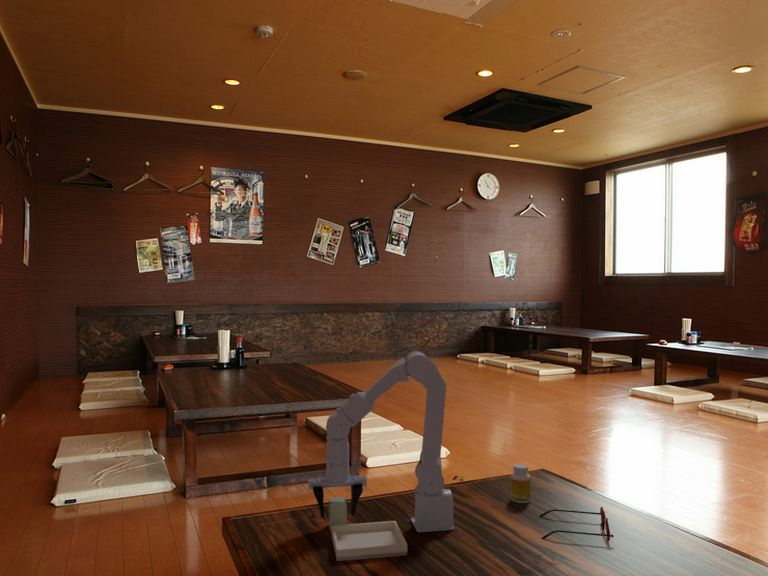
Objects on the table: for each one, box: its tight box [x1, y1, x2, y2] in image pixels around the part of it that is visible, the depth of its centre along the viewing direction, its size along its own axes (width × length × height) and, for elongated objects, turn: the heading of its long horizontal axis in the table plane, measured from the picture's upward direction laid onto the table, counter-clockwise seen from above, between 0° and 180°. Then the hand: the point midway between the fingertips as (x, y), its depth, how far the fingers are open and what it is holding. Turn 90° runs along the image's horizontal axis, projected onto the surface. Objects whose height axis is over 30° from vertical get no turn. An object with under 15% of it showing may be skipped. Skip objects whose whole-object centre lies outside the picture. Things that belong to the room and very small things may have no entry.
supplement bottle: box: [510, 463, 531, 504], centre depth 164 cm, size 5×5×10 cm
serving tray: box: [330, 520, 408, 562], centre depth 136 cm, size 16×13×2 cm
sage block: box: [328, 496, 348, 533], centre depth 146 cm, size 4×4×7 cm
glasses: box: [538, 506, 615, 542], centre depth 145 cm, size 14×16×5 cm
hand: (337, 515), depth 146 cm, fingers open, 7 cm apart
